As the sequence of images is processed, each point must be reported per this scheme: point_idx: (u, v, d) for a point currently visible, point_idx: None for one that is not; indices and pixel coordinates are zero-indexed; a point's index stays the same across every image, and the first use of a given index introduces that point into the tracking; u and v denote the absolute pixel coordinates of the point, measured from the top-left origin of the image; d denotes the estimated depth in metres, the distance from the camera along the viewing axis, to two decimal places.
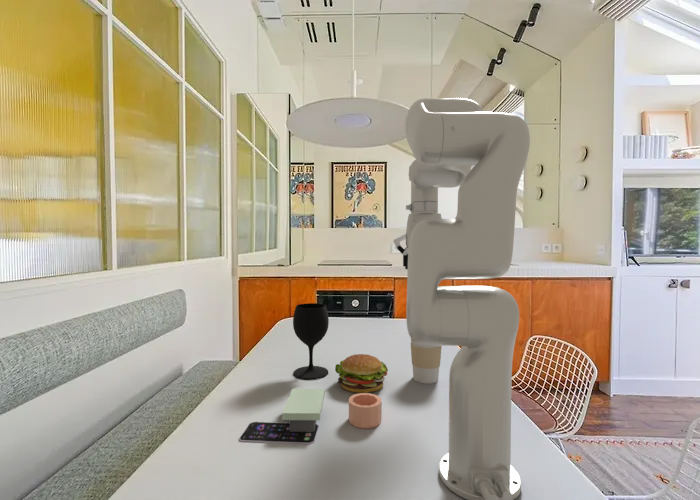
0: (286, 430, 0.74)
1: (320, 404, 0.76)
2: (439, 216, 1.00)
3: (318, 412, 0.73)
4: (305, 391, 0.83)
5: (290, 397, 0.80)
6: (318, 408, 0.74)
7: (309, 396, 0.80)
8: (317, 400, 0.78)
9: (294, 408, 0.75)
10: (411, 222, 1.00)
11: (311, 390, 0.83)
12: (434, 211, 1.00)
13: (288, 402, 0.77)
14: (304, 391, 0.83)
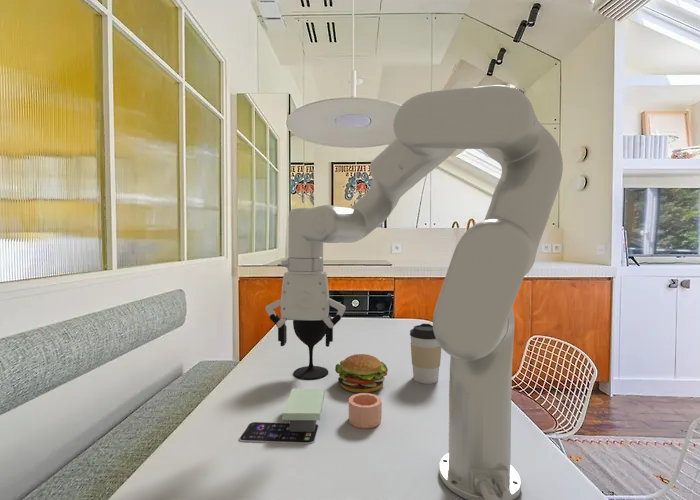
0: (286, 430, 0.74)
1: (320, 404, 0.76)
2: (322, 277, 0.76)
3: (318, 412, 0.73)
4: (305, 391, 0.83)
5: (290, 397, 0.80)
6: (318, 408, 0.74)
7: (309, 396, 0.80)
8: (317, 400, 0.78)
9: (294, 408, 0.75)
10: (285, 285, 0.76)
11: (311, 390, 0.83)
12: (314, 271, 0.75)
13: (288, 402, 0.77)
14: (304, 391, 0.83)
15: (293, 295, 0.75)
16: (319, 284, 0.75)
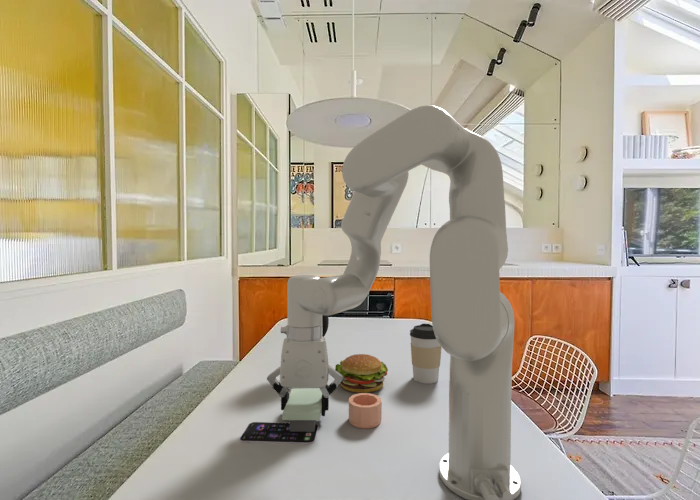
0: (286, 430, 0.74)
1: (320, 404, 0.76)
2: (321, 345, 0.76)
3: (318, 412, 0.73)
4: (305, 391, 0.83)
5: (290, 397, 0.80)
6: (318, 408, 0.74)
7: (309, 396, 0.80)
8: (317, 400, 0.78)
9: (293, 408, 0.75)
10: (284, 353, 0.76)
11: (311, 390, 0.83)
12: (314, 340, 0.75)
13: (288, 402, 0.77)
14: (303, 391, 0.83)
15: (292, 364, 0.75)
16: (318, 352, 0.76)
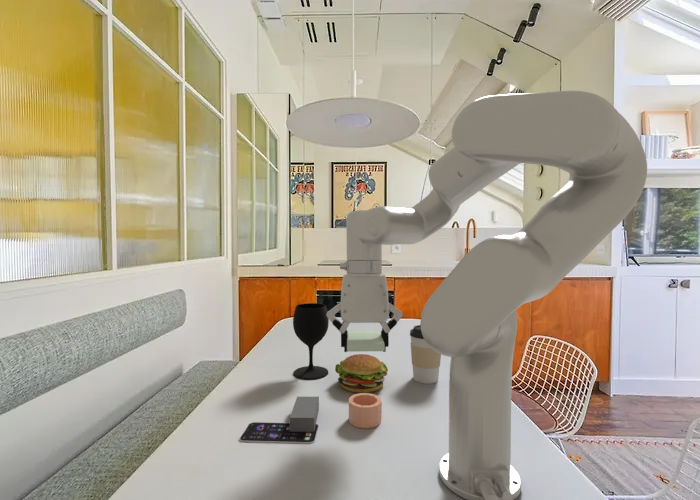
0: (286, 430, 0.74)
1: (381, 338, 0.76)
2: (382, 279, 0.75)
3: (382, 343, 0.72)
4: (361, 331, 0.83)
5: (349, 335, 0.79)
6: (381, 341, 0.74)
7: (367, 334, 0.80)
8: (376, 336, 0.78)
9: (356, 341, 0.74)
10: (345, 288, 0.75)
11: (367, 331, 0.83)
12: (375, 273, 0.75)
13: (348, 338, 0.77)
14: (359, 331, 0.82)
15: (354, 298, 0.75)
16: (380, 286, 0.75)
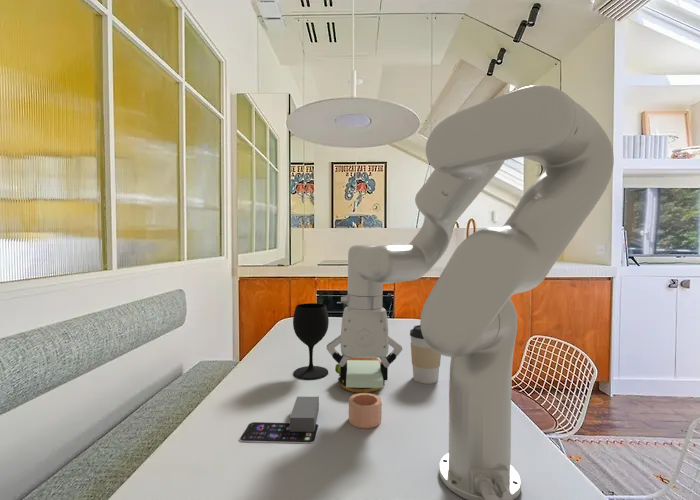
0: (286, 430, 0.74)
1: (380, 373, 0.76)
2: (383, 315, 0.76)
3: (381, 380, 0.73)
4: (360, 362, 0.83)
5: (348, 367, 0.80)
6: (380, 377, 0.74)
7: (366, 366, 0.80)
8: (376, 369, 0.78)
9: (355, 376, 0.75)
10: (345, 322, 0.76)
11: (366, 361, 0.83)
12: (376, 309, 0.75)
13: (348, 371, 0.77)
14: (359, 362, 0.83)
15: (354, 333, 0.75)
16: (380, 321, 0.75)
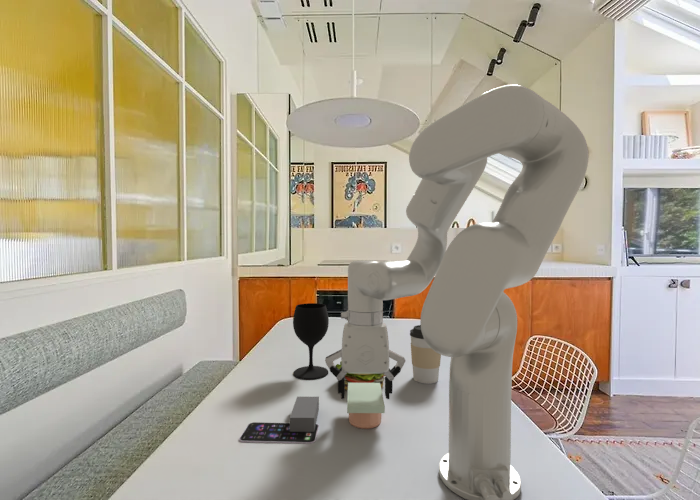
0: (286, 430, 0.74)
1: (381, 397, 0.76)
2: (383, 330, 0.76)
3: (382, 405, 0.73)
4: (361, 384, 0.83)
5: (349, 391, 0.79)
6: (381, 401, 0.74)
7: (367, 389, 0.80)
8: (377, 393, 0.78)
9: (356, 401, 0.74)
10: (346, 338, 0.75)
11: (367, 384, 0.83)
12: (376, 325, 0.75)
13: (349, 395, 0.77)
14: (360, 385, 0.83)
15: (355, 349, 0.75)
16: (380, 337, 0.75)
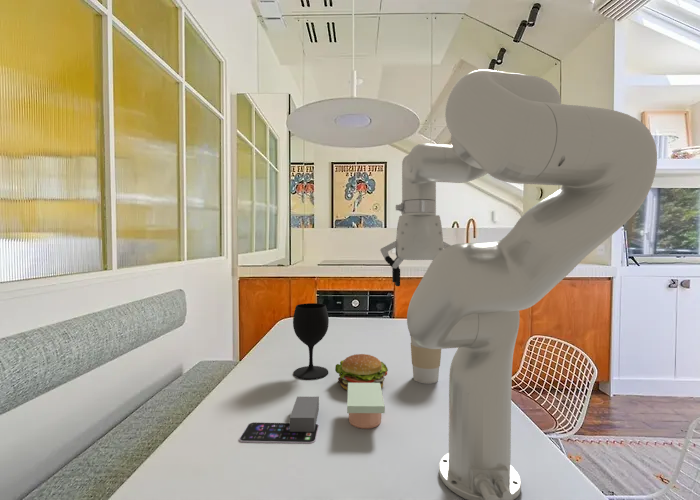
0: (286, 430, 0.74)
1: (381, 397, 0.76)
2: (438, 219, 0.79)
3: (382, 405, 0.73)
4: (361, 384, 0.83)
5: (349, 391, 0.79)
6: (381, 401, 0.74)
7: (367, 389, 0.80)
8: (377, 393, 0.78)
9: (356, 401, 0.74)
10: (403, 226, 0.79)
11: (367, 384, 0.83)
12: (432, 212, 0.79)
13: (349, 395, 0.77)
14: (360, 385, 0.83)
15: (411, 236, 0.79)
16: (435, 225, 0.79)
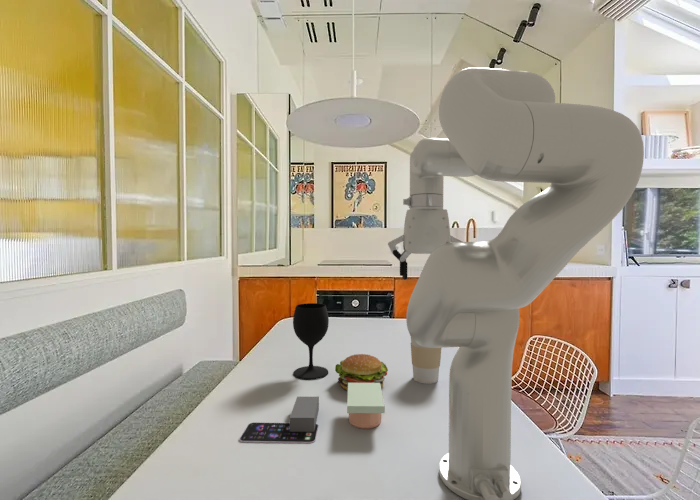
0: (286, 430, 0.74)
1: (381, 397, 0.76)
2: (445, 213, 0.80)
3: (382, 405, 0.73)
4: (361, 384, 0.83)
5: (349, 391, 0.79)
6: (381, 401, 0.74)
7: (367, 389, 0.80)
8: (377, 393, 0.78)
9: (356, 401, 0.74)
10: (410, 220, 0.80)
11: (367, 384, 0.83)
12: (439, 206, 0.79)
13: (349, 395, 0.77)
14: (360, 385, 0.83)
15: (418, 229, 0.80)
16: (443, 219, 0.80)
